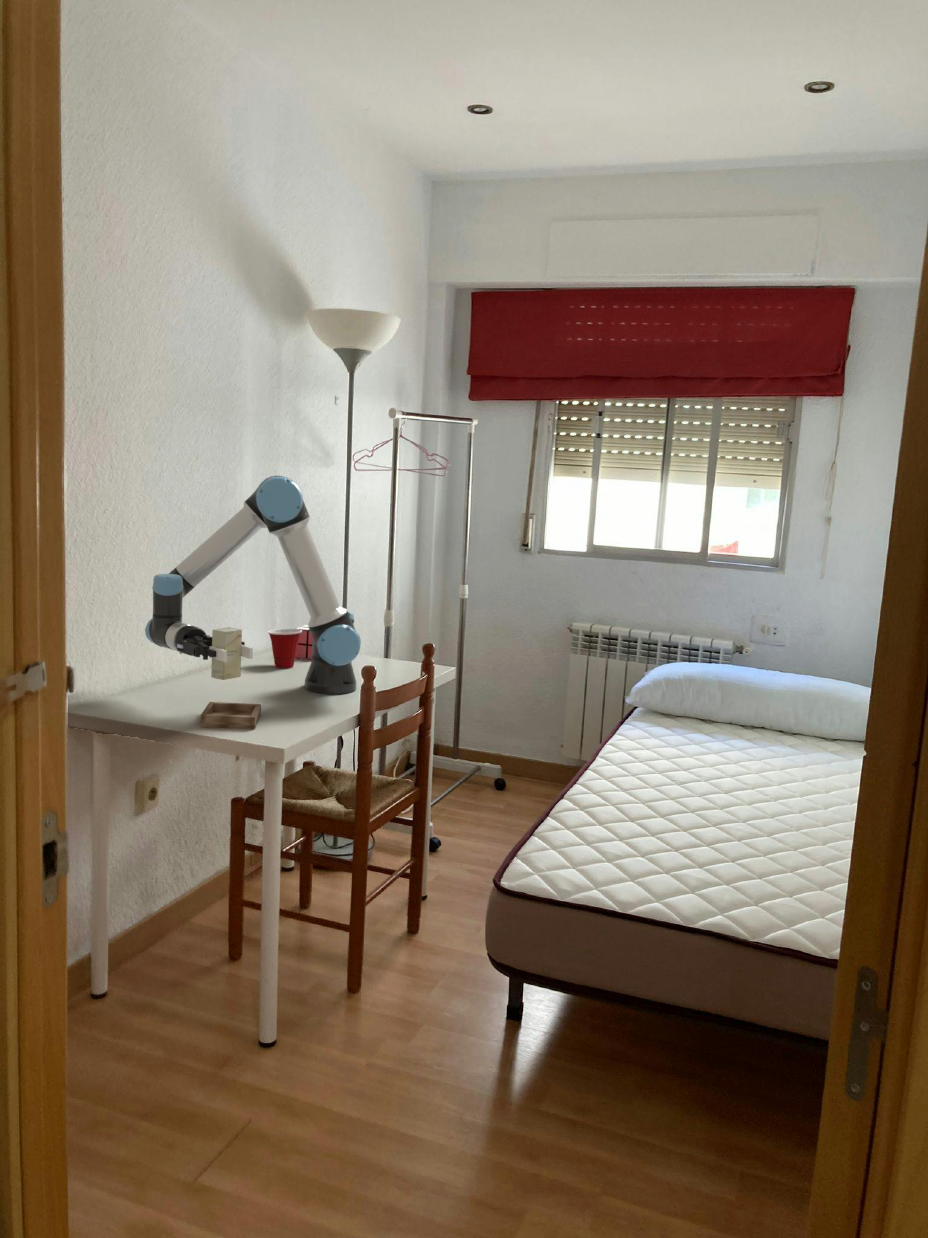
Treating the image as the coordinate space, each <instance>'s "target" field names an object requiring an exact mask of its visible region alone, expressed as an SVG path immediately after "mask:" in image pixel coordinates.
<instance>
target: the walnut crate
mask: <svg viewBox="0 0 928 1238" xmlns="http://www.w3.org/2000/svg"><path fill="white" fill-rule="evenodd" d="M261 716H262V704H261V703H245V702H242V703H241V702H240V703H239V702H221V701H209V702H208V703H207V705H206V707H204V709H203V711H202V712H201V714H200V719H199V721H200V724H199V725H200V726H199V727H200V728H217V729H236V728H239V730H244V729H245V730H255V729H256V727H257V725H258V723H259V720H260V717H261Z"/></svg>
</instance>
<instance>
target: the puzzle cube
mask: <svg viewBox="0 0 928 1238" xmlns="http://www.w3.org/2000/svg"><path fill="white" fill-rule="evenodd" d="M294 629H299V630H302V632H301V635H300V638H299V642H298V647H297V653H296V657H295V659H301V658H308V659H307V660H310V659H312V644H313V636H312V634H311V632H310V629H309V627H308V624H304V625H301V626H298V627H296V628H294Z"/></svg>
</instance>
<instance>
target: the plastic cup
mask: <svg viewBox="0 0 928 1238" xmlns="http://www.w3.org/2000/svg"><path fill="white" fill-rule="evenodd" d="M301 632H302V630H299V629H295V628H278V629H277V628H276V629H271V630H268V631H267V633H268V634H269V637H270V642H271V648H272V650H271V651H272V656H273V662H274V667H275V668H277V667H279V668H278V669H291V667H292V668H294V665H295V660H296V658H295V657H296V653H297V647H298V642H299V638H300V635H301Z"/></svg>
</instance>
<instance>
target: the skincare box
mask: <svg viewBox="0 0 928 1238" xmlns="http://www.w3.org/2000/svg"><path fill="white" fill-rule="evenodd" d="M242 633H243V629H242V628H241V629H240V628H235V627H223V628H215V629H212V633H211V634H212V635H211V637H212V646H213V647H216V648H220V649H223V650H226V651H227V662H223V661H219V660H216V659H213V658H211V678H212V679H216V680H221V681H226V680H232V679H235V678H236V679H238V678H240V677H241V676H242V674H241V673H242V656H241V645H242V642H243V641H242V639H243V637H242V636H243V634H242Z"/></svg>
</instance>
